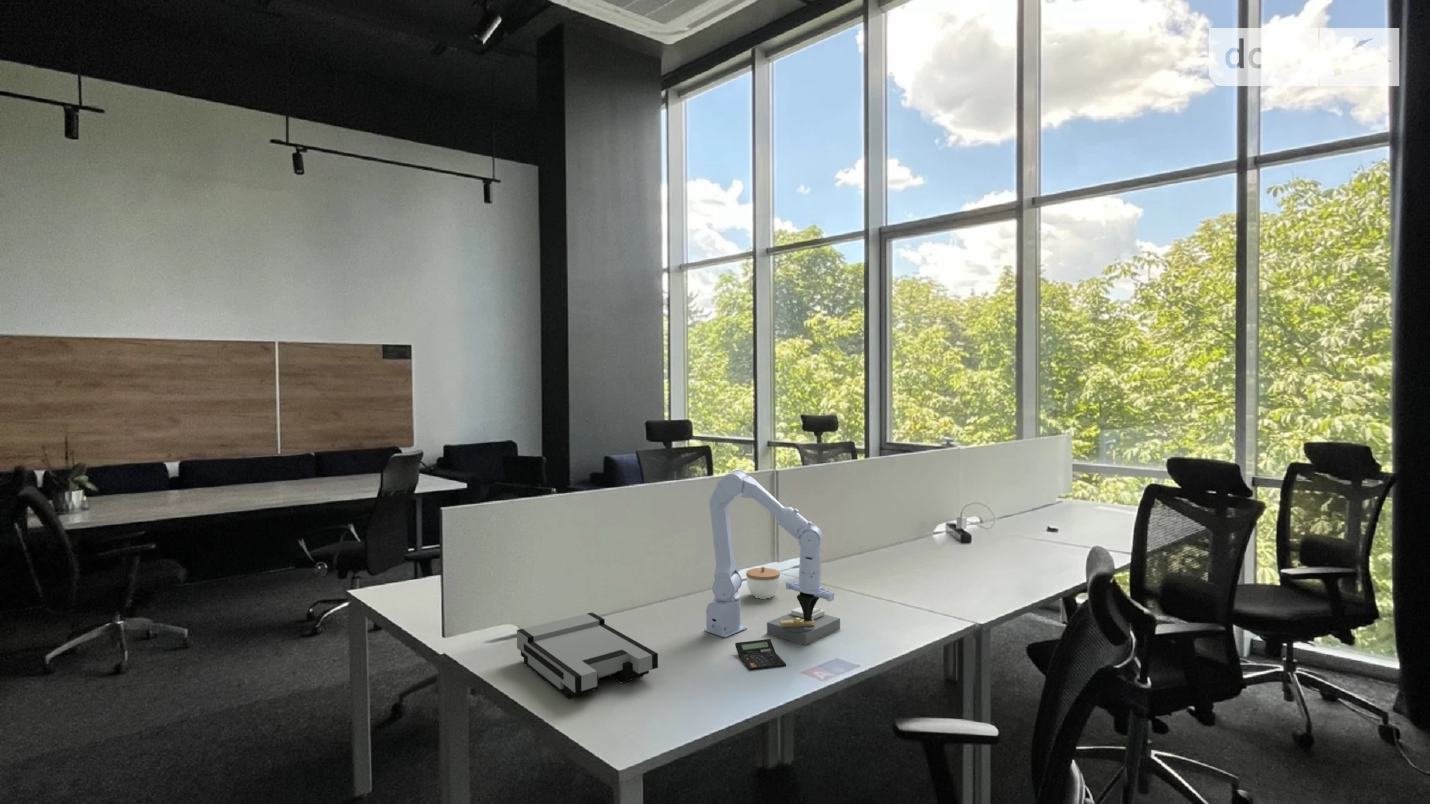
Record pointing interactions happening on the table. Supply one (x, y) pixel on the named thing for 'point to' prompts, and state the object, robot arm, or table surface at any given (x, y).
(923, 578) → the table surface
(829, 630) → the grey flat block
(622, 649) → the game console
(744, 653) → the calculator
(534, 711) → the table surface
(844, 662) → the table surface
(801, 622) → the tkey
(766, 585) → the lidded jar
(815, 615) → the hatch cover
